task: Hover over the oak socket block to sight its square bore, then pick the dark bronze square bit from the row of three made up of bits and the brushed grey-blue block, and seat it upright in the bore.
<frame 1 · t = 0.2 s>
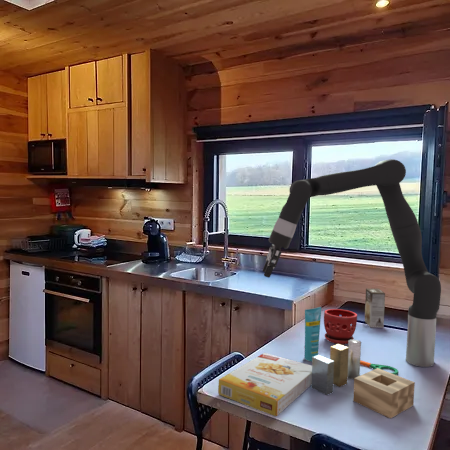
hand: (265, 274, 154), 31 cm above the table, tool tilted 20°, fingers open, 8 cm apart
square bit: (338, 383, 137), on the table
tube: (311, 359, 157), on the table
magnifying glass: (375, 369, 150), on the table
coffee box: (373, 324, 198), on the table
plant pot: (339, 341, 176), on the table
socket block: (383, 403, 125), on the table
cereal box: (269, 389, 134), on the table
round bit: (353, 376, 142), on the table
brushed grey-blue block: (322, 390, 133), on the table
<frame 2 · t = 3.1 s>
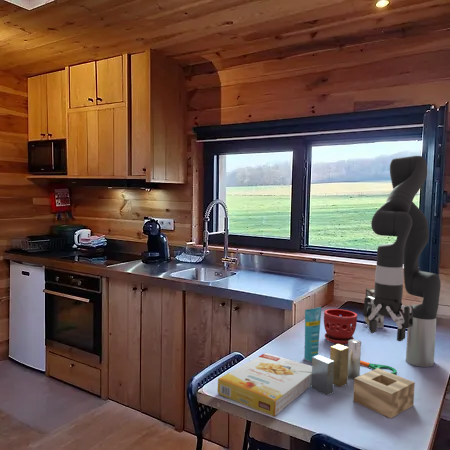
hand: (386, 336, 123), 20 cm above the table, tool pointing down, fingers open, 8 cm apart
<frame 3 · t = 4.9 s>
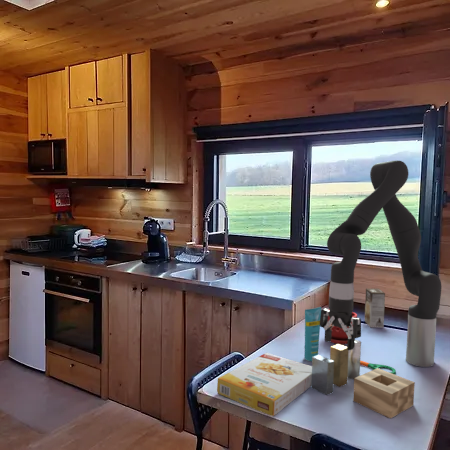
hand: (338, 345, 136), 12 cm above the table, tool pointing down, fingers open, 8 cm apart
nothing on the table moved.
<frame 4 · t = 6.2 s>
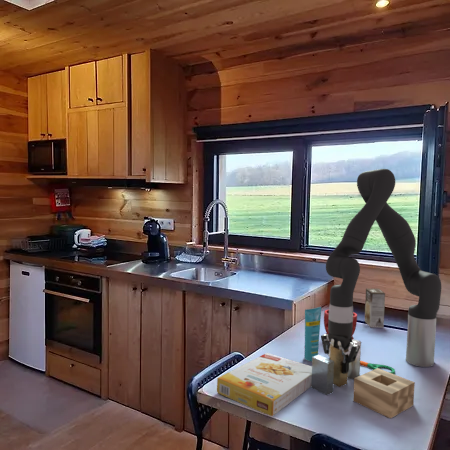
hand: (338, 370, 137), 4 cm above the table, tool pointing down, fingers closed on square bit, 4 cm apart
square bit: (338, 383, 137), on the table, touching gripper
everything else where it was.
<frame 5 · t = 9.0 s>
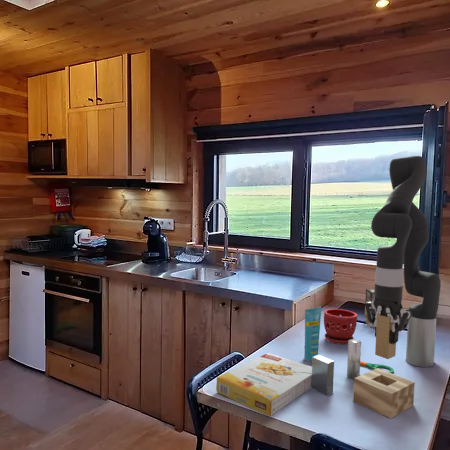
hand: (385, 340, 123), 19 cm above the table, tool pointing down, fingers closed on square bit, 4 cm apart
square bit: (385, 355, 124), point 14 cm above the table, touching gripper
when the fingers open (9 cm above the table, at t = 11.6 s): square bit drops 2 cm, resting on socket block.
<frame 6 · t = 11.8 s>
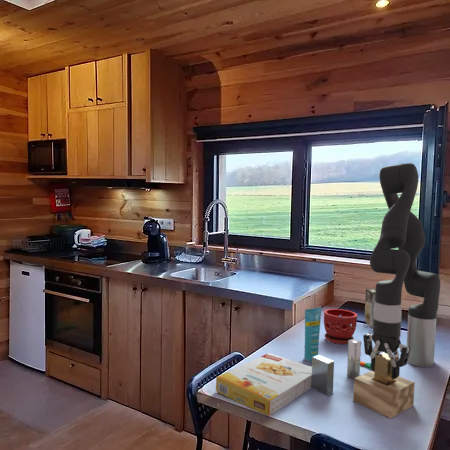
hand: (384, 374, 124), 9 cm above the table, tool pointing down, fingers open, 5 cm apart
square bit: (382, 396, 125), point 2 cm above the table, touching socket block
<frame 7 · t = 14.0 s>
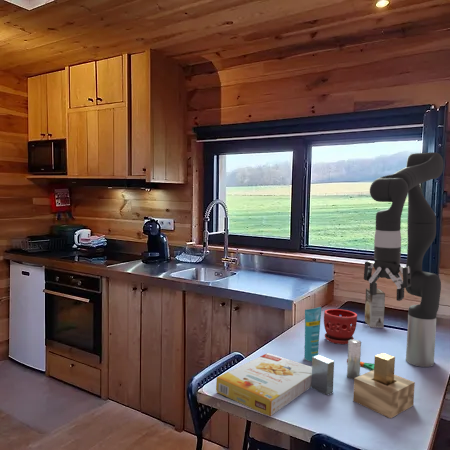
hand: (386, 297, 130), 30 cm above the table, tool pointing down, fingers open, 8 cm apart
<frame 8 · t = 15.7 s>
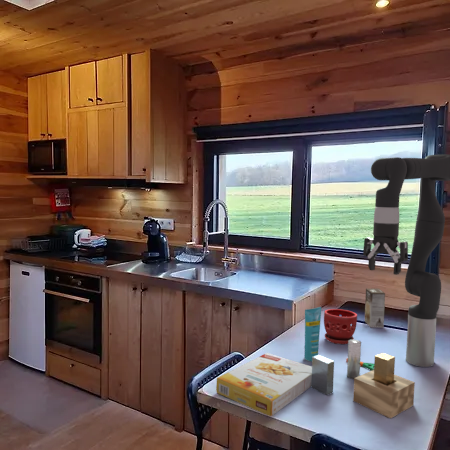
hand: (383, 272, 136), 36 cm above the table, tool pointing down, fingers open, 8 cm apart
at the end: square bit 0.1 cm off-centre on the socket block, point 2.1 cm above the socket block's base; square bit tilted 0°; the gripper is holding nothing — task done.
